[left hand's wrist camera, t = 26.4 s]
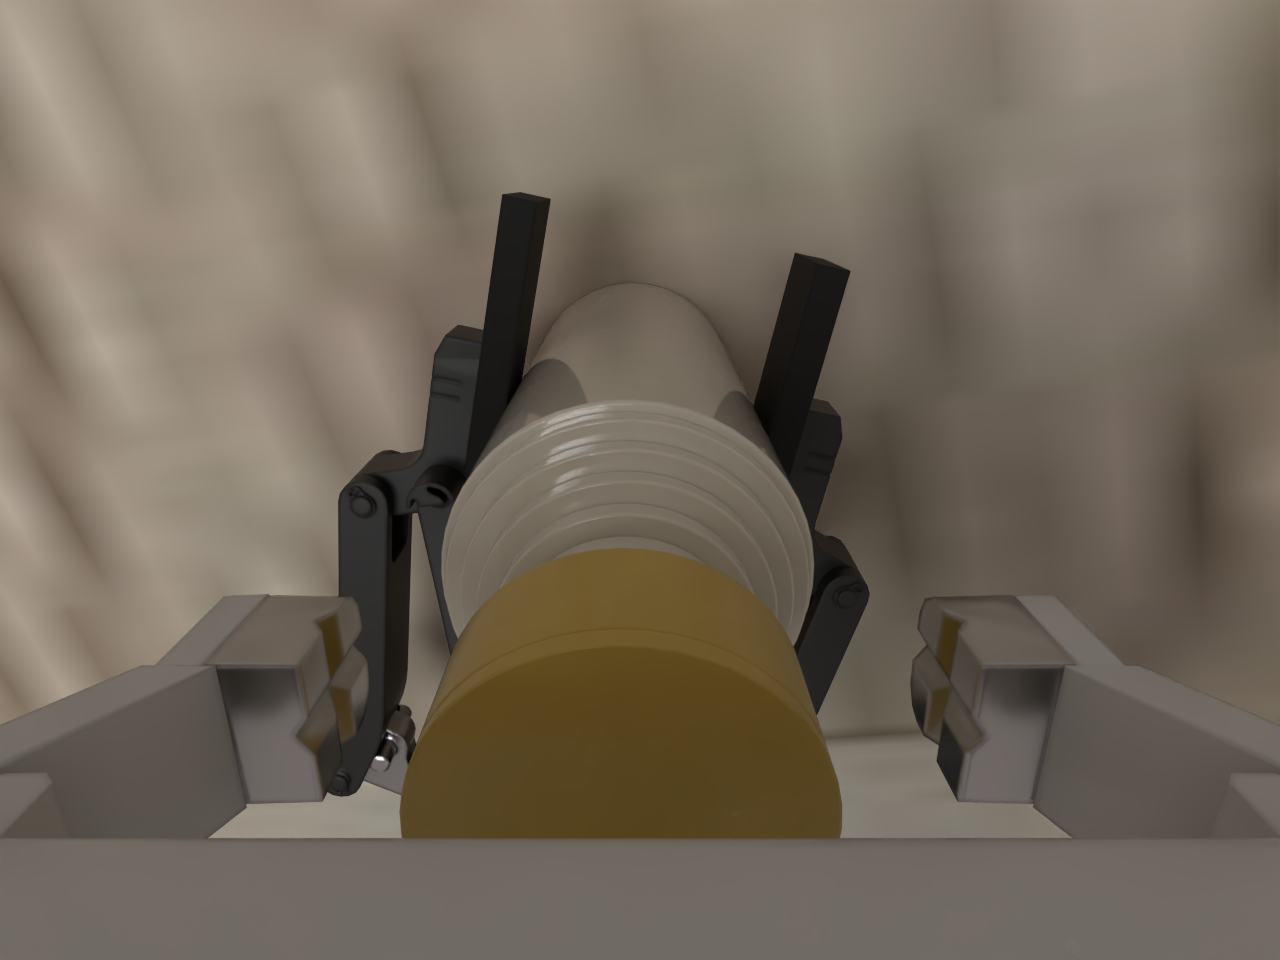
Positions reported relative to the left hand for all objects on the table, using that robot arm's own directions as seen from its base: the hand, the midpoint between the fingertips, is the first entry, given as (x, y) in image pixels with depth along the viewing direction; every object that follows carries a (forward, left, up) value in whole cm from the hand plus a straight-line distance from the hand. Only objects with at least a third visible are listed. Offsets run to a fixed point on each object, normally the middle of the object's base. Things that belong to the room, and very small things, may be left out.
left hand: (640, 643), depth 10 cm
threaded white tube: (0, +1, -17) cm, 17 cm away
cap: (0, +1, +2) cm, 2 cm away
